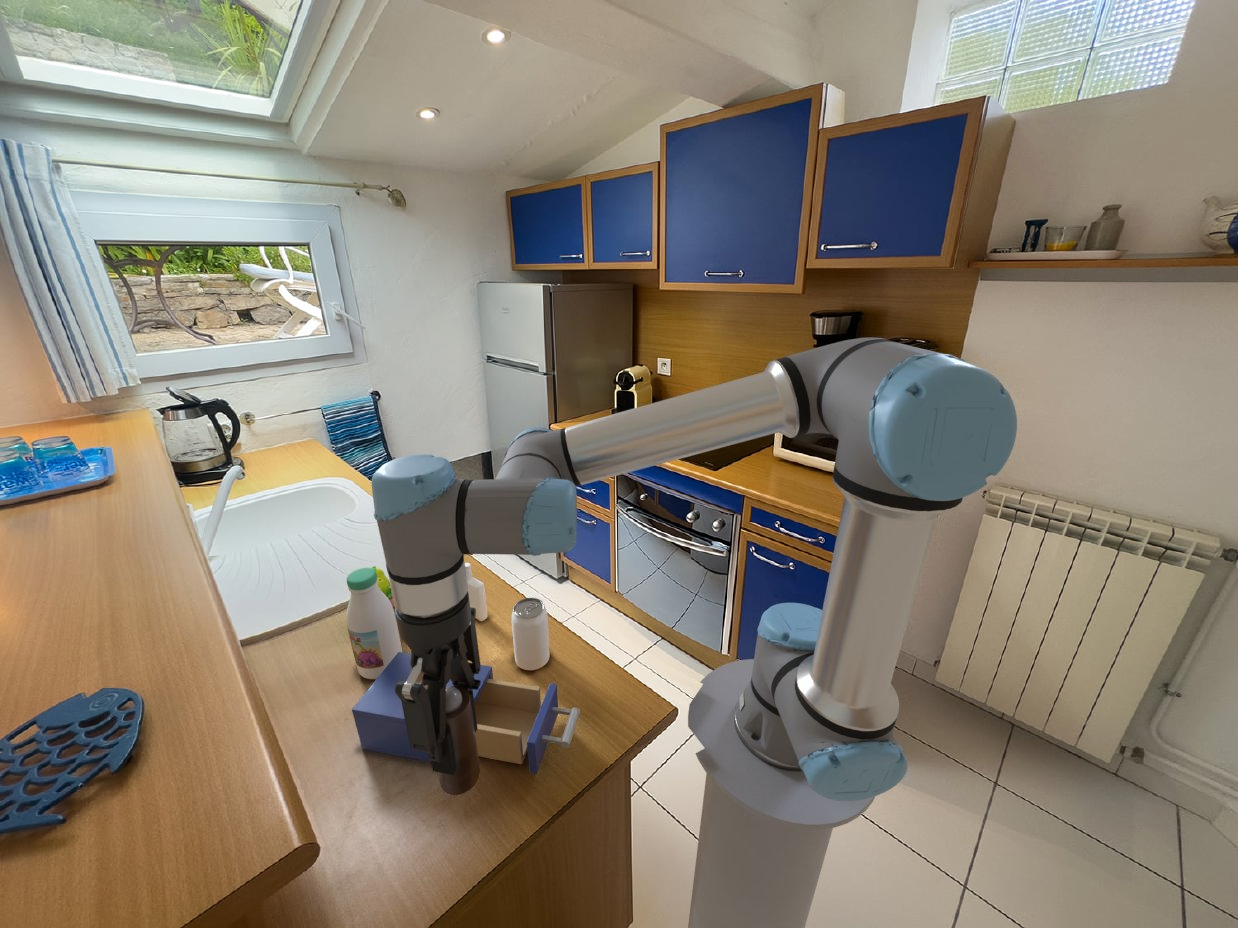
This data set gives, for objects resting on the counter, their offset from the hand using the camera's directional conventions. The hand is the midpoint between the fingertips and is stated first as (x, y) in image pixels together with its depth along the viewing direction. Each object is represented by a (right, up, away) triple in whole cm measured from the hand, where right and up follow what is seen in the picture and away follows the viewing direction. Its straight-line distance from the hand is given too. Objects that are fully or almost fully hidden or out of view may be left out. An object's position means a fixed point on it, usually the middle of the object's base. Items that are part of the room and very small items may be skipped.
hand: (456, 748), depth 62 cm
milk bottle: (-24, -2, +30) cm, 38 cm away
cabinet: (-10, -7, +18) cm, 21 cm away
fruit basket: (-29, +3, +41) cm, 50 cm away
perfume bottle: (-11, +4, +43) cm, 45 cm away
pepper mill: (0, -5, +2) cm, 5 cm away
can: (+4, -1, +31) cm, 32 cm away
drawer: (+4, -7, +15) cm, 17 cm away
